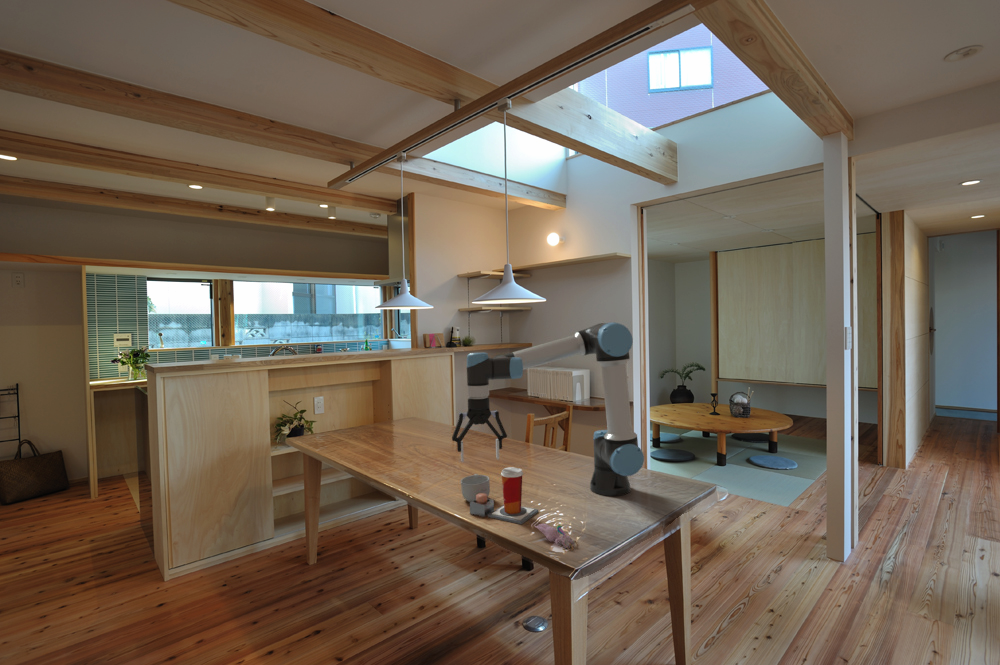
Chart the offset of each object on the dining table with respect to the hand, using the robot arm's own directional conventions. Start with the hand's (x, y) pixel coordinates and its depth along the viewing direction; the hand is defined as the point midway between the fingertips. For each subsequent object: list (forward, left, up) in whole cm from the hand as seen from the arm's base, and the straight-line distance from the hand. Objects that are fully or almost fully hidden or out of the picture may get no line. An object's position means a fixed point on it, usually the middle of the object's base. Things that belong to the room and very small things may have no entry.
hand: (480, 459), depth 164 cm
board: (-11, -3, -18) cm, 22 cm away
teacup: (+9, -10, -18) cm, 23 cm away
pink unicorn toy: (-32, +9, -19) cm, 38 cm away
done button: (0, 0, -15) cm, 15 cm away
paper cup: (-11, -3, -17) cm, 21 cm away
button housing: (0, 0, -18) cm, 18 cm away
